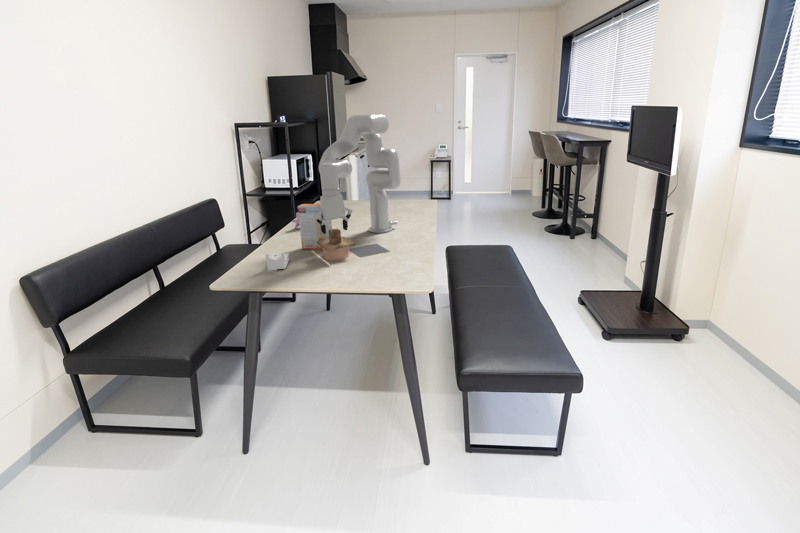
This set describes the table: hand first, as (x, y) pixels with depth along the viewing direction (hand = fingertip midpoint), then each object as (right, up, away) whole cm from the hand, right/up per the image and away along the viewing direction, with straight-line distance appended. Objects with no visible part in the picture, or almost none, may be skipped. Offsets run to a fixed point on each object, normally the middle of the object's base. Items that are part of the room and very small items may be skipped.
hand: (334, 231), depth 203 cm
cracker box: (-10, -7, +18) cm, 22 cm away
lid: (0, -6, +2) cm, 6 cm away
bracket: (-23, -15, -4) cm, 28 cm away
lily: (-25, +6, +55) cm, 61 cm away
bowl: (0, -11, +4) cm, 12 cm away
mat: (+14, -8, +10) cm, 19 cm away
